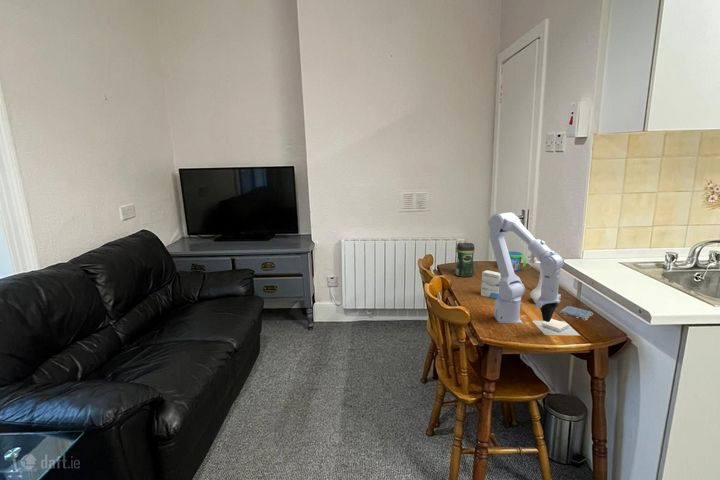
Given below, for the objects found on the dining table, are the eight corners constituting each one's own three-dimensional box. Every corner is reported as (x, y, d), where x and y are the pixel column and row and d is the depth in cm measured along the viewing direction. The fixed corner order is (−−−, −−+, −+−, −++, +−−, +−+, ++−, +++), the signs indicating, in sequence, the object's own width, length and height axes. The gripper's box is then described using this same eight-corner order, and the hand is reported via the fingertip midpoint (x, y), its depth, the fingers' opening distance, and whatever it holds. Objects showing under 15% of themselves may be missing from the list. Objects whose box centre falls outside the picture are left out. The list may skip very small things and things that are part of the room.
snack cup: (494, 268, 238) (496, 251, 236) (506, 265, 244) (507, 249, 242) (517, 274, 225) (518, 257, 223) (529, 271, 231) (530, 254, 229)
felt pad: (544, 335, 150) (544, 334, 150) (531, 321, 163) (532, 320, 162) (580, 336, 149) (580, 335, 149) (564, 322, 162) (564, 321, 162)
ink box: (501, 296, 191) (503, 273, 188) (497, 299, 187) (499, 275, 185) (485, 292, 196) (486, 269, 194) (480, 295, 193) (481, 271, 190)
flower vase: (544, 295, 193) (549, 244, 188) (563, 309, 175) (569, 254, 170) (517, 295, 193) (521, 244, 188) (533, 309, 175) (539, 254, 170)
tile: (559, 328, 151) (568, 324, 156) (542, 322, 157) (551, 318, 161) (559, 332, 152) (568, 327, 156) (541, 326, 157) (551, 321, 161)
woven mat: (558, 315, 170) (558, 310, 170) (567, 308, 177) (568, 304, 177) (585, 322, 163) (585, 318, 162) (593, 315, 170) (594, 311, 169)
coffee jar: (470, 273, 228) (472, 241, 224) (475, 277, 221) (477, 244, 217) (453, 273, 228) (455, 241, 224) (457, 277, 220) (459, 244, 216)
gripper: (550, 293, 141) (546, 329, 144) (570, 285, 150) (566, 319, 152) (531, 288, 146) (528, 323, 149) (551, 280, 155) (548, 313, 158)
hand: (546, 320), depth 151 cm, fingers closed
